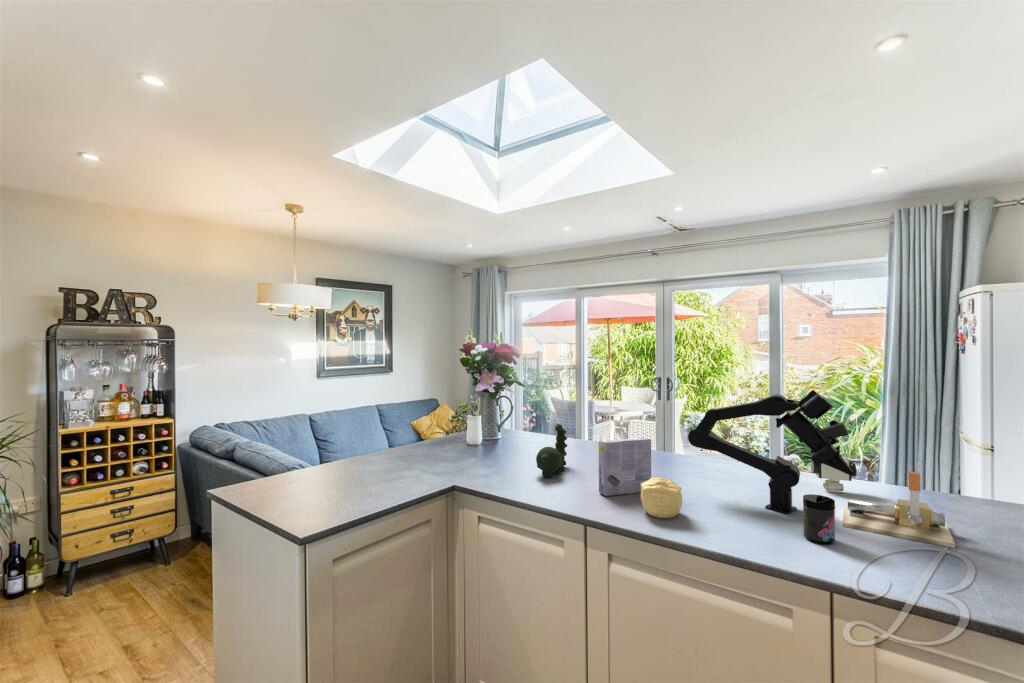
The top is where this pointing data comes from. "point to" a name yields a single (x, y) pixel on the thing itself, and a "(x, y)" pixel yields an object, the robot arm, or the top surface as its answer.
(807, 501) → the supplement container
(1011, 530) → the top surface
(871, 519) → the mounting board
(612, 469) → the cake pan box
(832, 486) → the pneumatic valve
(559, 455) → the toy figurine
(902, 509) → the valve pipe
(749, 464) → the robot arm
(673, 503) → the sculpture
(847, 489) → the top surface
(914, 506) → the valve lever
